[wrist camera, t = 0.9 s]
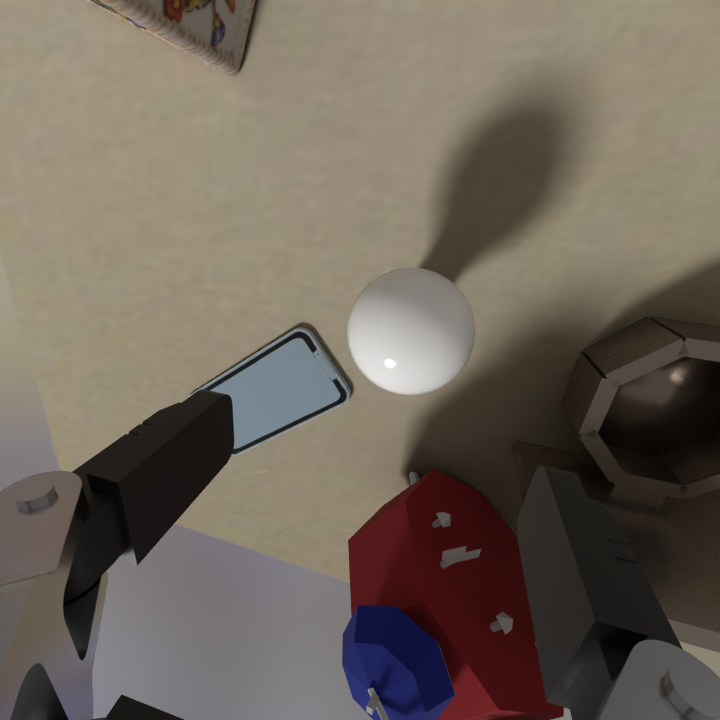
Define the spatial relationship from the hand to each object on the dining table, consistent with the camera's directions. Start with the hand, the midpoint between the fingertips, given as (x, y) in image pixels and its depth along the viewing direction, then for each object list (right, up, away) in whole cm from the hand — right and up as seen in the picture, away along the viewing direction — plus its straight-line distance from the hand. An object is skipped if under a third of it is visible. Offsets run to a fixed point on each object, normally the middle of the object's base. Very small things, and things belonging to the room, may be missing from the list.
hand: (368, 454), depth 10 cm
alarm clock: (+9, -10, +22) cm, 26 cm away
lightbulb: (+4, +7, +16) cm, 18 cm away
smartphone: (-8, -1, +23) cm, 25 cm away
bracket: (+19, -1, +15) cm, 24 cm away
